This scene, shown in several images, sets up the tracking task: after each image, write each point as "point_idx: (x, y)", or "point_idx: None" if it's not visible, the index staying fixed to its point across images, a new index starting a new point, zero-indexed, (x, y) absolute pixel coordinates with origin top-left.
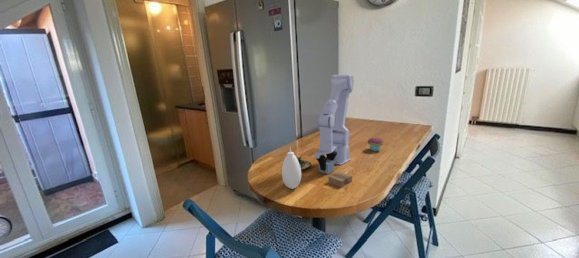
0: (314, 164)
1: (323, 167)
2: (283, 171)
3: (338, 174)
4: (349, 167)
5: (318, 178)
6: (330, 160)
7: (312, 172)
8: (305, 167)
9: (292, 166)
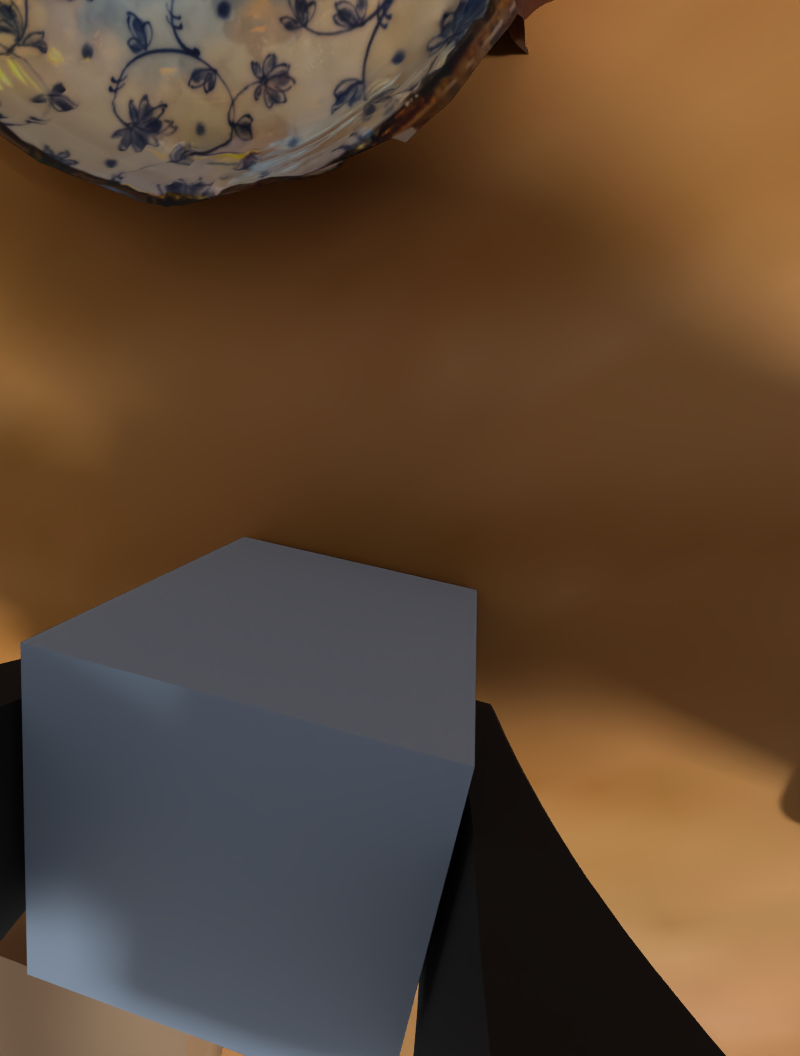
0: (617, 167)
1: None
2: None
3: (71, 1047)
4: (757, 1001)
5: (18, 645)
6: (352, 997)
7: (147, 420)
8: (239, 85)
9: None
